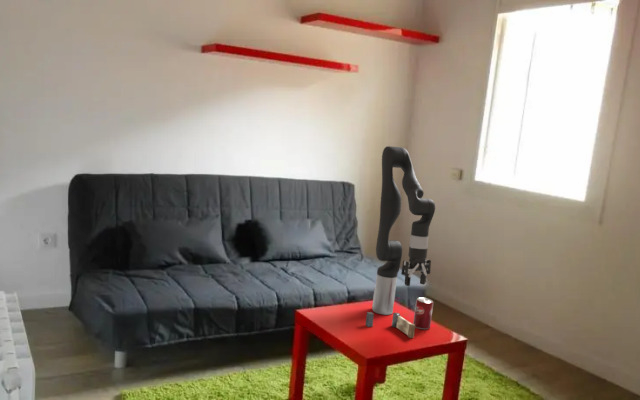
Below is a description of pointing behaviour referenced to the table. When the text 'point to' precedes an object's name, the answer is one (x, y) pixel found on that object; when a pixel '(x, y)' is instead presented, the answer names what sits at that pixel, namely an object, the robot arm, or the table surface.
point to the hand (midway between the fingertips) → (414, 284)
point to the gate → (405, 326)
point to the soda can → (423, 313)
